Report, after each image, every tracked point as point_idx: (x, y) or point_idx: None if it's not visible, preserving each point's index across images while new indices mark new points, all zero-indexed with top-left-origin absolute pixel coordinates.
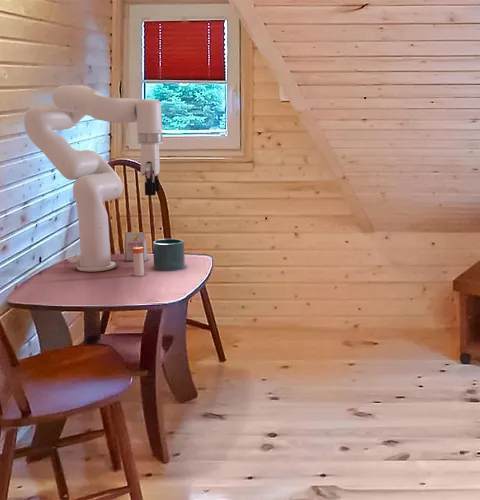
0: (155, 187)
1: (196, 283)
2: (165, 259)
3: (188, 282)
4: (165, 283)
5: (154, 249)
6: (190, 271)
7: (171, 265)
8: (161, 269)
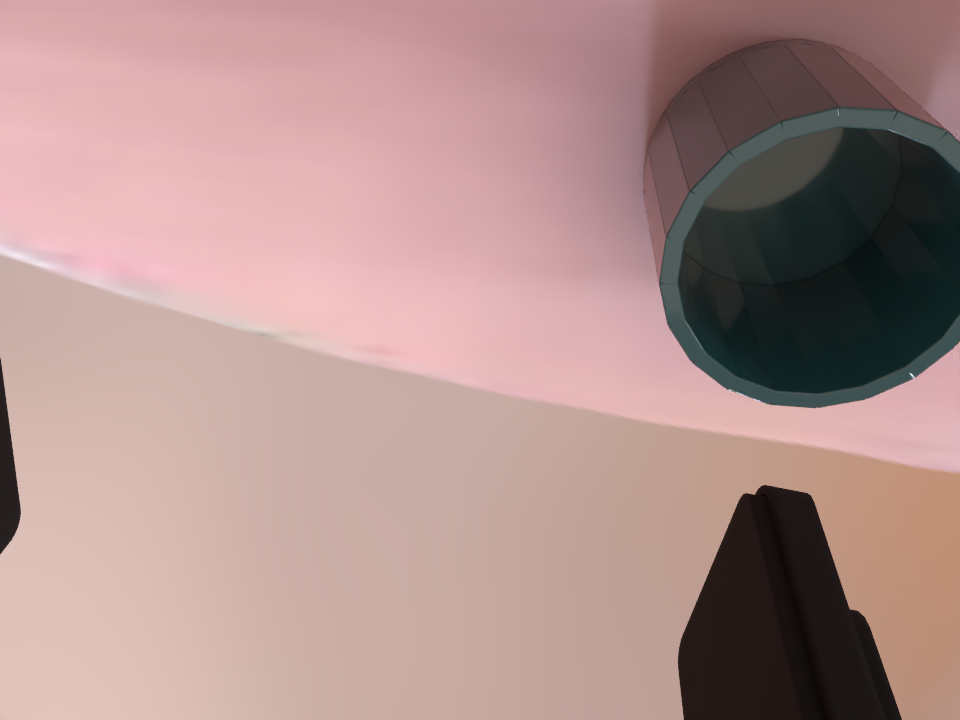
0: (712, 673)
1: (178, 293)
2: (659, 165)
3: (214, 248)
4: (203, 88)
5: (780, 97)
6: (563, 304)
7: (646, 193)
8: (676, 99)
